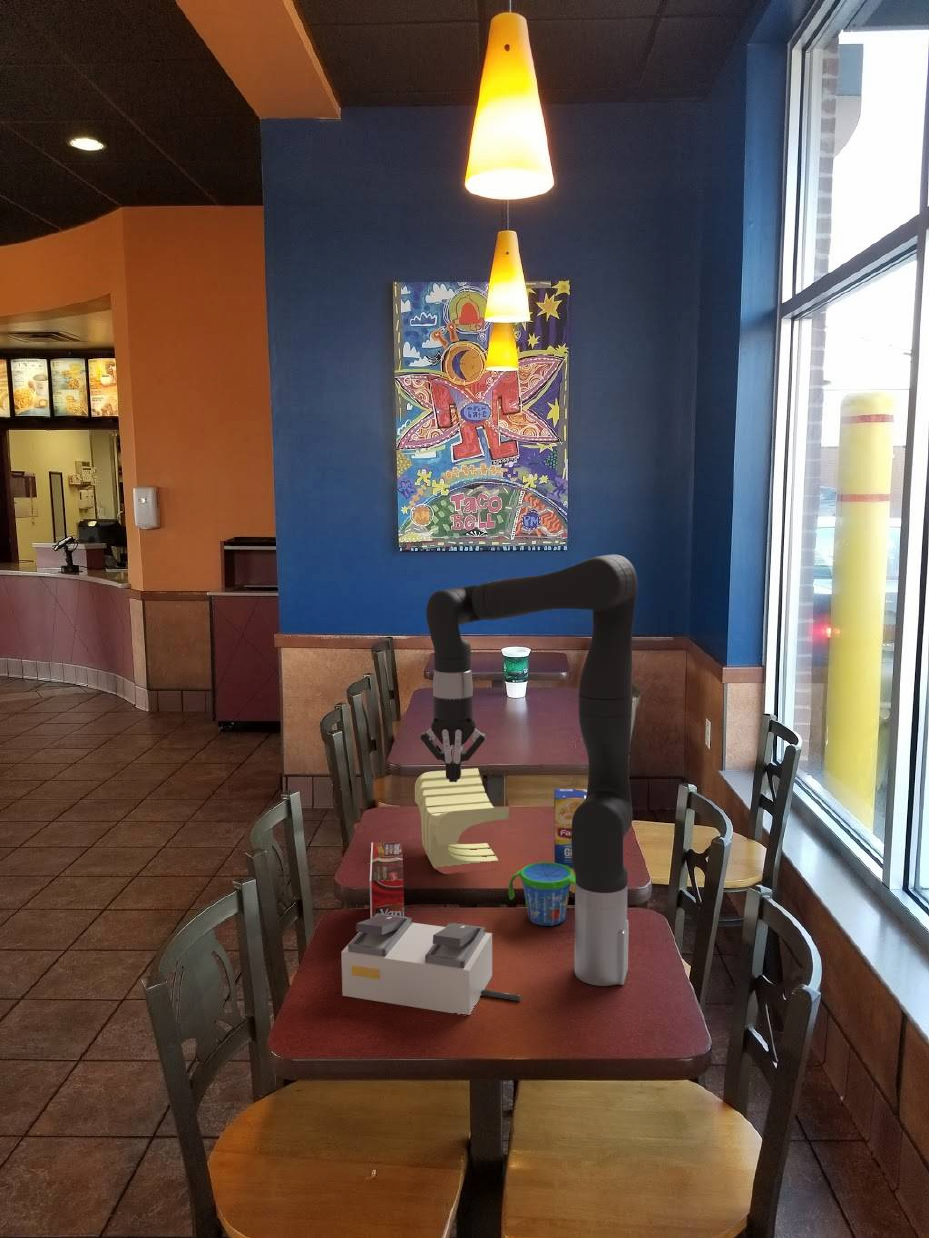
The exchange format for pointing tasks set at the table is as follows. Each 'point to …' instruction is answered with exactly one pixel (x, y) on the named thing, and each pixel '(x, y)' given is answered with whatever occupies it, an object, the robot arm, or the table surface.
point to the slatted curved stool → (454, 816)
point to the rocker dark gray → (379, 925)
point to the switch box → (419, 969)
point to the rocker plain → (455, 935)
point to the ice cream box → (386, 879)
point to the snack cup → (545, 891)
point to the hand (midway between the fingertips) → (453, 780)
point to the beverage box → (565, 824)
